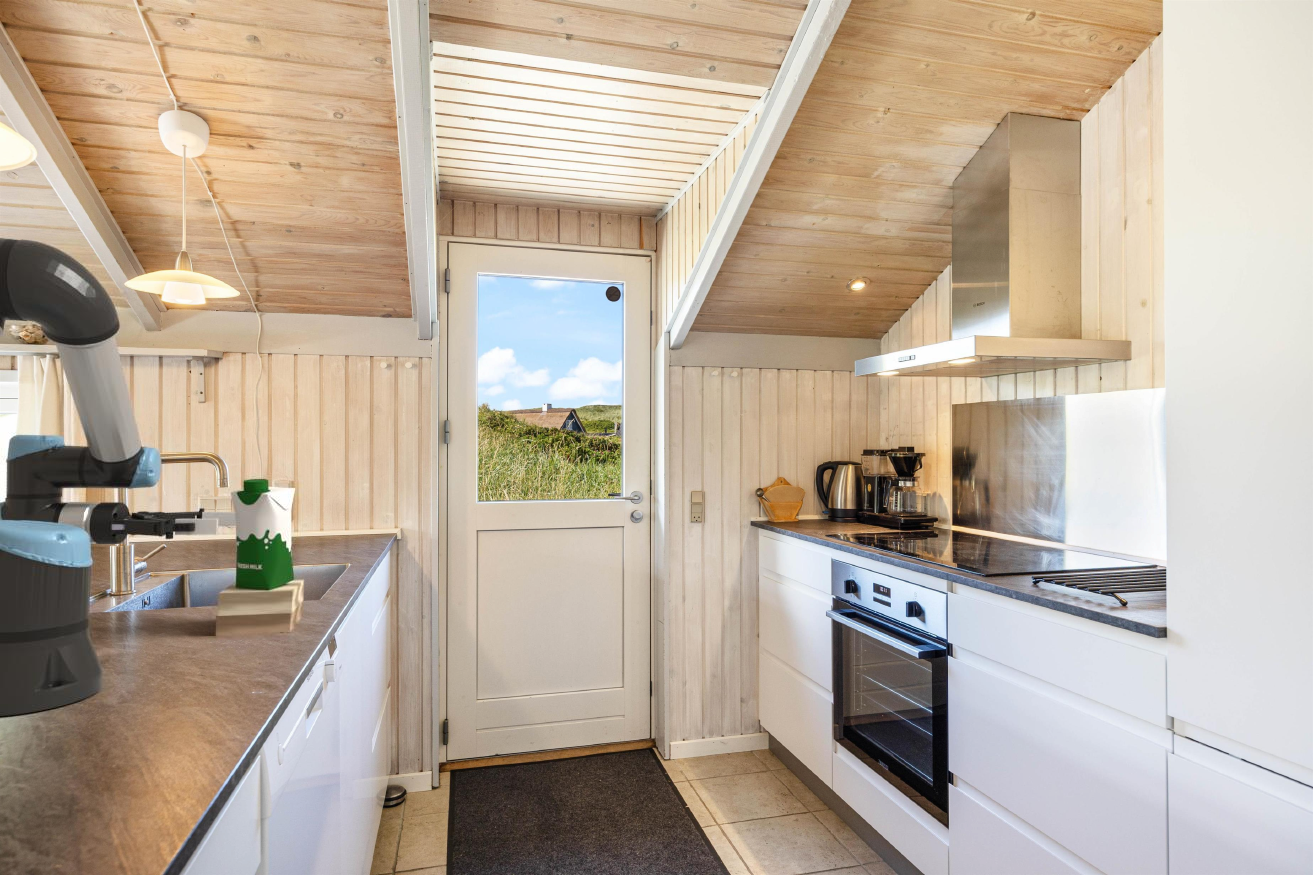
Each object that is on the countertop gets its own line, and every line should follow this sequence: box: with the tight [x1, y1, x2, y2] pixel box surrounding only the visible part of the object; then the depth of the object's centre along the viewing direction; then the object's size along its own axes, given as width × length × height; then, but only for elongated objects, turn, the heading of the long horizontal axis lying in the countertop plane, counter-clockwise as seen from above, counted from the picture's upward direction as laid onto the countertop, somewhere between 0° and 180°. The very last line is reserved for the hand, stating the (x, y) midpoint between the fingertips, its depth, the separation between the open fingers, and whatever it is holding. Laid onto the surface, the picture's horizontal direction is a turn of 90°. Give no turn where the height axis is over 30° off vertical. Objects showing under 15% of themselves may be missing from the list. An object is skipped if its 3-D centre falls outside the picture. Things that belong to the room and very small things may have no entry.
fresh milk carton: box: [230, 478, 296, 590], centre depth 136 cm, size 9×9×20 cm
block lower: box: [215, 600, 304, 637], centre depth 137 cm, size 12×12×4 cm
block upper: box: [217, 579, 305, 616], centre depth 137 cm, size 12×12×4 cm
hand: (229, 522), depth 136 cm, fingers open, 13 cm apart
